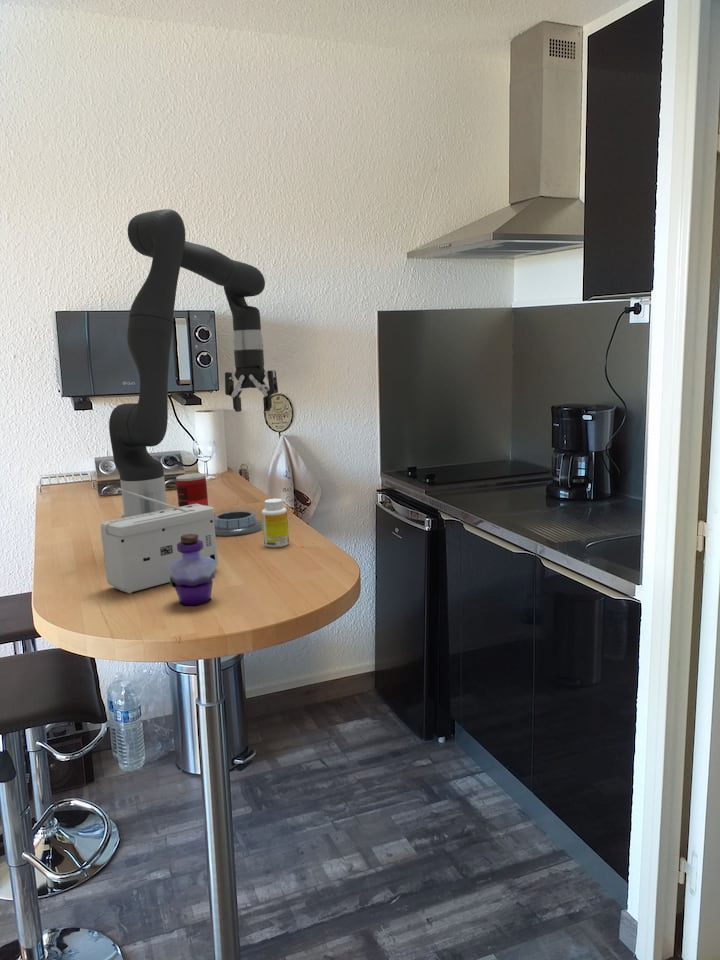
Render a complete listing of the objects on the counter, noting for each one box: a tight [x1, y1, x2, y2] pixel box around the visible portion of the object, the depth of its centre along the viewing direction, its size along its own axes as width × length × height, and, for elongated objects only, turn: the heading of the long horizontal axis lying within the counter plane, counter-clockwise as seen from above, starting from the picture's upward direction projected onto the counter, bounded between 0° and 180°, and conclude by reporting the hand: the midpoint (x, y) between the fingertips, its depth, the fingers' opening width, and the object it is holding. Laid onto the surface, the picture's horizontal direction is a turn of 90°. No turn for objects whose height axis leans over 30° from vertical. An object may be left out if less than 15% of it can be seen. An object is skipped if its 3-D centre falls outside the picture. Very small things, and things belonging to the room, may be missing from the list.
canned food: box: [175, 473, 209, 507], centre depth 203 cm, size 8×8×11 cm
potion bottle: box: [167, 534, 217, 607], centre depth 132 cm, size 9×9×12 cm
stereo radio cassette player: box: [100, 487, 219, 595], centre depth 145 cm, size 21×8×20 cm, turn 131°
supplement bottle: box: [261, 498, 290, 549], centre depth 167 cm, size 6×6×10 cm
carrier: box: [214, 510, 263, 538], centre depth 185 cm, size 13×13×4 cm
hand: (252, 411), depth 197 cm, fingers open, 8 cm apart
